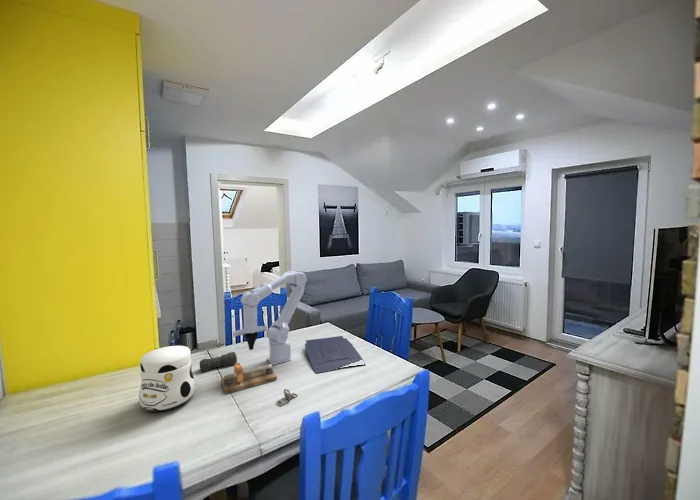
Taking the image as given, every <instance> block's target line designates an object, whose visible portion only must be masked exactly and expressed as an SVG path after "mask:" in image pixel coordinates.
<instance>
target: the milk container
mask: <svg viewBox="0 0 700 500" xmlns="http://www.w3.org/2000/svg"><path fill="white" fill-rule="evenodd" d="M139 365H140V378H141V379H140V380H141V382H140V383H141V384H140V388H139V392H138V398H139V404H140V406H141V408H142V409H144V410H145V411H148V412H156V413H157V412H164V411H169V410H172V409H175V408H177V407H179V406H181V405H183V404H185V403H186V402H188V401H189V400H190V399H191V397H192V396H193V395H194V392H195V387H196V381H195V377H194V374H193V371H192V353H191V349H190V348H189V347H188V346H185V345H171V346H164V347H159V348H156V349H152V350H151V351H149V352H147V353H145V354H144V355H142V356H141V358H140V364H139Z"/></svg>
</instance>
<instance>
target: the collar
mask: <svg viewBox="0 0 700 500" xmlns="http://www.w3.org/2000/svg"><path fill="white" fill-rule="evenodd" d="M233 368H234V369H233V371H234V372H233V373H236V374H237V378H236V380H237V382H242V381H243V371H244V370H243V366H242V365H241V363H240V362H237V363H235V364H233Z"/></svg>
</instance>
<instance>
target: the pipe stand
mask: <svg viewBox="0 0 700 500" xmlns="http://www.w3.org/2000/svg"><path fill="white" fill-rule="evenodd" d="M277 377H278V376H277V375H276V374H275V372H274V370H273V365H272V364H271V363H270V364H266V365H262V366H258V367H254V368H250V369H245V370H243V381H242V382H237V380H236V378H237V374H236V373H234V372H233V373H230V374H226V375H223V378H221V379H220V384H221V386H222V389H223V391H224V393H225V395H228V394H232V393H235V392H238V391H242V390H246V389H249V388H253V387H256V386H260V385H263V384H267V383H270V382H274V381H277V379H278V378H277Z"/></svg>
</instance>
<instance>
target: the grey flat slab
mask: <svg viewBox="0 0 700 500" xmlns="http://www.w3.org/2000/svg"><path fill="white" fill-rule="evenodd" d="M304 349H305V351H306V354H307V356H308V358H309V359H308V360H309V361H310V363H311V366H312V369H313V370H314V372H315V374H318V373H324V372H325V373H326V372H331V371H335V370H334V369H336V368H341V367H343V366H346V365H349V364H351V363H355V362H358V361H360V360H363V361H364V359H363V357H362V356H361V355H360V353H359V352H358V350H357V349H356V348H355V346H354V345H353V344H352V343H351V341H350V340H348V339H347V338H344V337H343V335H337V336H330V337H324V338H323V337H322V338H315V339H306V340H305V343H304ZM341 369H342V368H341ZM336 370H337V369H336Z"/></svg>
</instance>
